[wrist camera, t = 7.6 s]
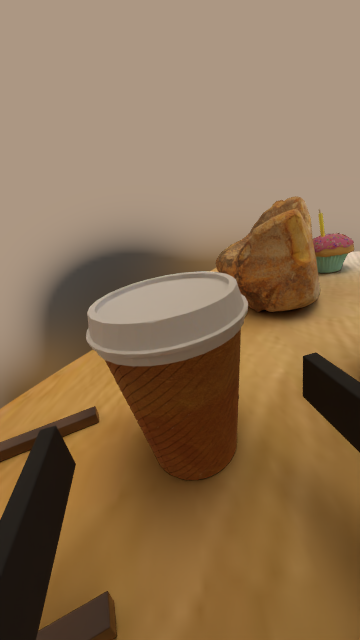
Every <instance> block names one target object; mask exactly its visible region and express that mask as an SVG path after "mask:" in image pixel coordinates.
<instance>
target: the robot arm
mask: <svg viewBox="0 0 360 640" xmlns="http://www.w3.org/2000/svg"><path fill="white" fill-rule="evenodd" d="M303 397H304V398H305V399H306V400H307V401H308V402H309V403H310V404H311V405H312V406H313V407H314V408H315V409H316V410H317V411H318V412H319V413H320V414H321V415H322V416H323V417H324V418H325V419H326V420H327V421H328V422H329V423H330V424H332V425H333V426H334V427H335V428H336V429H337V430H338V431H339V432H340V433H341V434H342V435H343V436H344V437H345V438H346V439H347V440H348V441H349V442H350V443H351V444H352V445H353V446H354V447H355V448H356V449H357V450H358V451H359V452H360V382H359V381H357V380H356V379H354V378H353V377H351V376H350V375H348V374H347V373H345V372H344V371H342V370H341V369H340V368H338V367H337V366H335V365H334V364H332V363H331V362H329V361H328V360H326V359H325V358H323V357H322V356H320V355H319V354H318V353H312V354H309V355H305V356H303ZM75 465H76V464H75V462H74V460H73V458H72V456H71V454H70V452H69V450H68V448H67V446H66V444H65V442H64V440H63V438H62V436H61V434H60V432H59V430H58V428H57V426H52V427H48V428H45V429H41V430H40V431H39V433H38V435H37V438H36V440H35V442H34V445H33V447H32V449H31V451H30V454H29V456H28V458H27V460H26V463H25V465H24V467H23V470H22V472H21V474H20V476H19V479H18V481H17V483H16V486H15V488H14V490H13V492H12V495H11V497H10V499H9V501H8V504H7V506H6V508H5V511H4V513H3V515H2V517H1V520H0V640H36V638H37V633H38V629H39V624H40V620H41V616H42V611H43V607H44V602H45V598H46V593H47V589H48V585H49V580H50V576H51V571H52V567H53V563H54V558H55V554H56V549H57V545H58V540H59V536H60V532H61V527H62V523H63V518H64V514H65V509H66V505H67V501H68V496H69V492H70V487H71V483H72V479H73V474H74V470H75Z"/></svg>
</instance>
